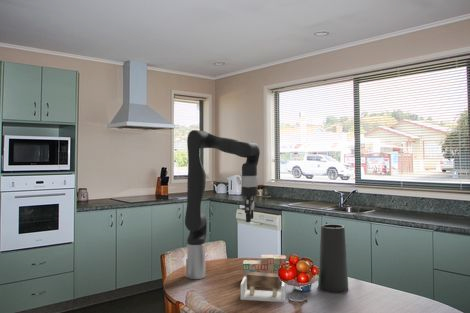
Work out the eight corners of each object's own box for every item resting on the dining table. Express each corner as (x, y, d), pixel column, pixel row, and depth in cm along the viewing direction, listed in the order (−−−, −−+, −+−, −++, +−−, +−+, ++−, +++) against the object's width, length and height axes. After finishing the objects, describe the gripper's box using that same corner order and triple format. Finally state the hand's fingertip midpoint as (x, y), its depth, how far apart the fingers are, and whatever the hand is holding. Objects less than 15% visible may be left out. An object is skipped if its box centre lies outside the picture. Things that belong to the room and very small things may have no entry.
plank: (246, 285, 166) (246, 274, 166) (249, 282, 171) (249, 271, 171) (278, 288, 162) (278, 277, 162) (280, 285, 167) (279, 274, 167)
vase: (353, 287, 177) (353, 225, 177) (339, 295, 167) (339, 230, 167) (327, 281, 186) (326, 222, 186) (312, 288, 176) (312, 226, 176)
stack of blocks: (242, 282, 186) (242, 257, 186) (243, 278, 192) (243, 254, 192) (286, 283, 184) (286, 258, 184) (286, 279, 190) (285, 254, 190)
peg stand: (240, 299, 163) (240, 283, 163) (244, 291, 173) (243, 276, 173) (284, 302, 160) (284, 286, 160) (285, 293, 170) (285, 278, 170)
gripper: (243, 184, 183) (244, 217, 183) (238, 186, 169) (239, 222, 169) (259, 184, 182) (259, 218, 182) (255, 186, 168) (255, 223, 168)
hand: (249, 220), depth 176 cm, fingers open, 8 cm apart
